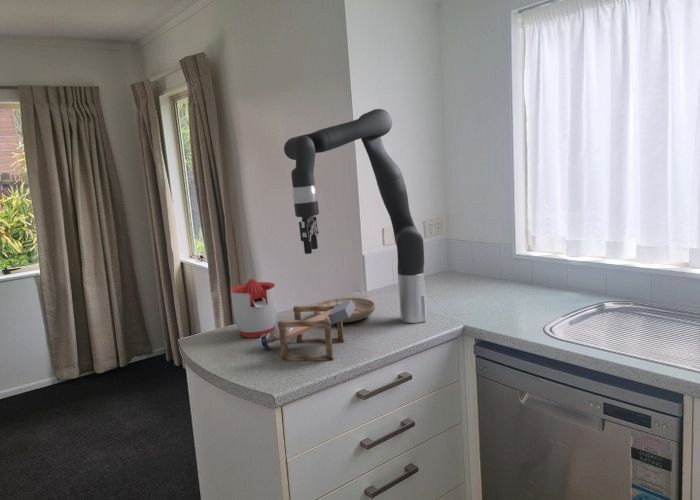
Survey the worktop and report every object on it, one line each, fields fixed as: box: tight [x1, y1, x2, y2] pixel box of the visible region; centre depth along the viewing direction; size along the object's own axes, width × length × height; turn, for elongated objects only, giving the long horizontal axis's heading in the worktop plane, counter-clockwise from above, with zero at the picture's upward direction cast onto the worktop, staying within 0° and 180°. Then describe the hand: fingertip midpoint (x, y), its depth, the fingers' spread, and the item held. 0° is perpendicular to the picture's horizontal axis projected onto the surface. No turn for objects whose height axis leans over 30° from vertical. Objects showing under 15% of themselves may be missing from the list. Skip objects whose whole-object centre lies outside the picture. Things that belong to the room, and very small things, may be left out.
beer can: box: [258, 327, 297, 350], centre depth 177 cm, size 5×5×12 cm
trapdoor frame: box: [277, 302, 345, 361], centre depth 174 cm, size 16×18×13 cm
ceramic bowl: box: [313, 297, 376, 324], centre depth 208 cm, size 23×24×5 cm
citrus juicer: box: [230, 278, 278, 339], centre depth 195 cm, size 16×17×20 cm
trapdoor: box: [287, 299, 356, 339], centre depth 173 cm, size 20×14×3 cm
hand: (311, 251), depth 177 cm, fingers open, 8 cm apart
